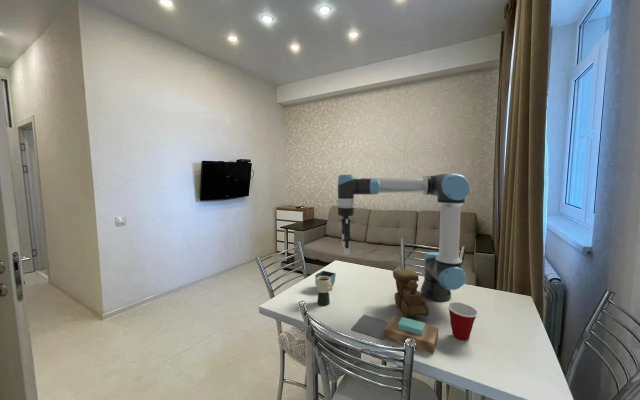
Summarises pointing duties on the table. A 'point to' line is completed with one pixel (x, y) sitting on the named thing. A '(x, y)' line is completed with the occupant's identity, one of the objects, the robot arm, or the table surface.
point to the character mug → (323, 289)
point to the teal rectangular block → (411, 326)
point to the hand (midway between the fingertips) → (345, 250)
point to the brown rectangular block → (412, 335)
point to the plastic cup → (461, 319)
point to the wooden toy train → (409, 294)
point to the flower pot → (326, 273)
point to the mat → (371, 326)
